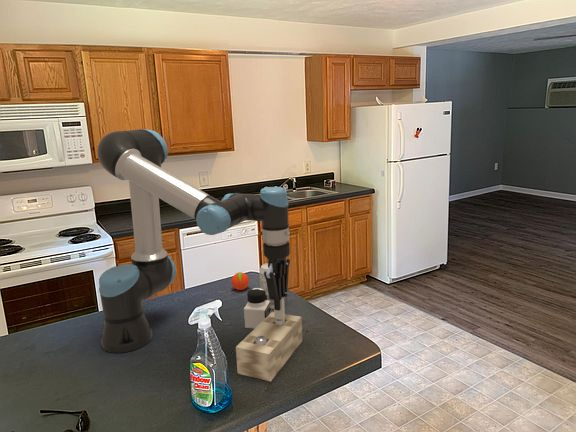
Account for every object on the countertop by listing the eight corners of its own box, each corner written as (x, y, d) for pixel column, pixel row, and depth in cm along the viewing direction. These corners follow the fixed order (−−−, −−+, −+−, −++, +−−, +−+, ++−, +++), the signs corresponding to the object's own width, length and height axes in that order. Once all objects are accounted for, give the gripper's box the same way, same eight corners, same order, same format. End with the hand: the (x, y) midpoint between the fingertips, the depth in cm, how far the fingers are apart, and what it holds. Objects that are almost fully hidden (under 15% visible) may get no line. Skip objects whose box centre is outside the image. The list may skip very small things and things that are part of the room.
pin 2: (274, 343, 128) (272, 320, 126) (278, 338, 131) (277, 316, 129) (283, 345, 127) (282, 322, 125) (287, 340, 130) (286, 317, 128)
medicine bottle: (265, 329, 139) (264, 295, 136) (244, 328, 141) (242, 294, 138) (271, 319, 146) (269, 286, 143) (250, 318, 147) (248, 285, 145)
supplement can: (258, 301, 160) (256, 263, 156) (280, 298, 162) (278, 260, 159) (264, 311, 152) (262, 271, 149) (286, 307, 155) (284, 268, 151)
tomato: (250, 293, 168) (249, 276, 167) (232, 294, 167) (231, 277, 166) (249, 285, 176) (248, 268, 174) (232, 286, 175) (230, 270, 174)
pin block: (237, 373, 116) (235, 346, 114) (273, 335, 136) (272, 311, 134) (270, 381, 112) (269, 354, 110) (302, 340, 132) (301, 316, 130)
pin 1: (254, 365, 118) (253, 340, 116) (260, 359, 120) (258, 334, 118) (264, 367, 116) (263, 342, 115) (269, 361, 119) (268, 336, 117)
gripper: (278, 250, 114) (282, 330, 120) (297, 236, 126) (299, 310, 131) (253, 247, 117) (258, 326, 123) (274, 234, 129) (277, 307, 134)
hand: (279, 318), depth 127 cm, fingers closed
